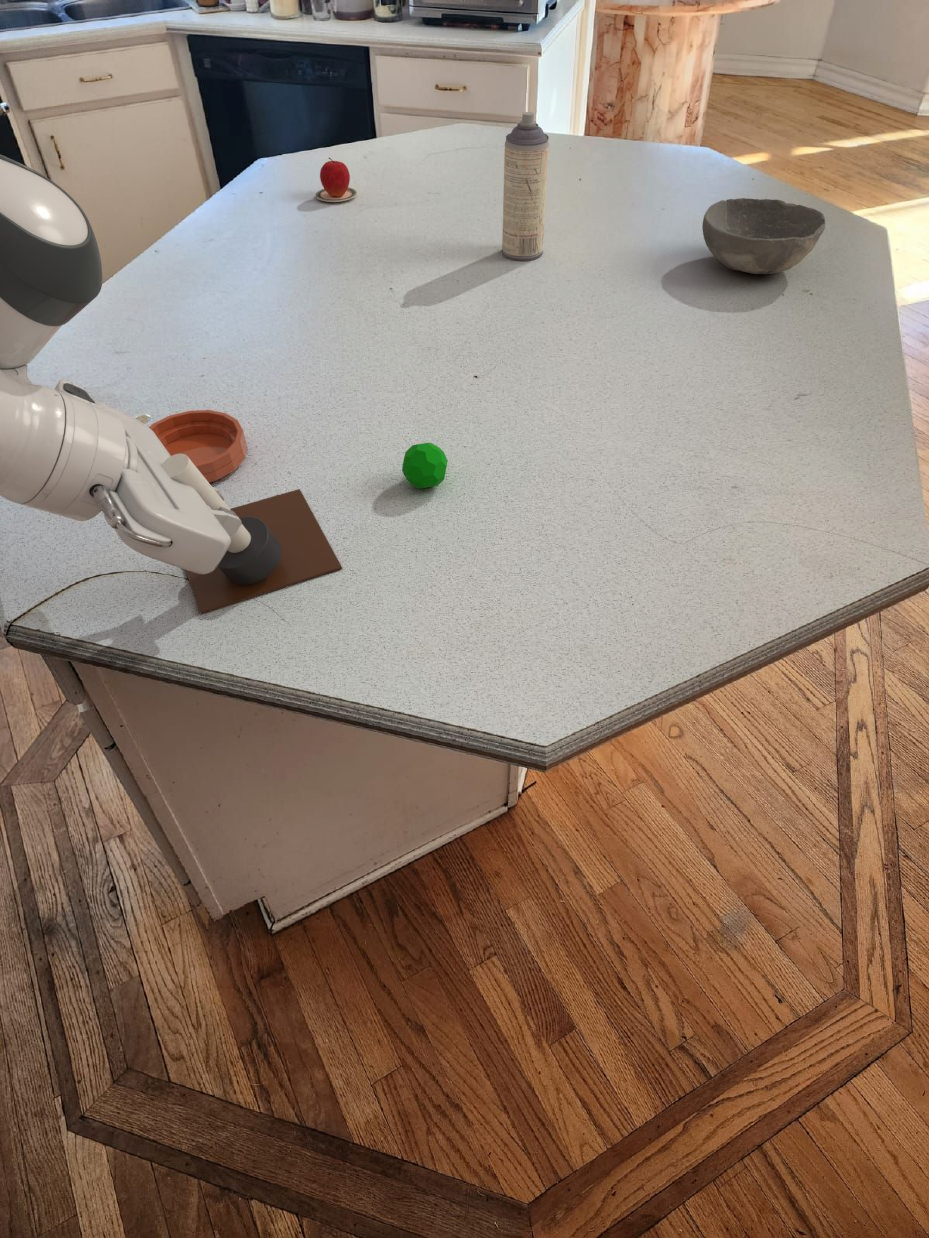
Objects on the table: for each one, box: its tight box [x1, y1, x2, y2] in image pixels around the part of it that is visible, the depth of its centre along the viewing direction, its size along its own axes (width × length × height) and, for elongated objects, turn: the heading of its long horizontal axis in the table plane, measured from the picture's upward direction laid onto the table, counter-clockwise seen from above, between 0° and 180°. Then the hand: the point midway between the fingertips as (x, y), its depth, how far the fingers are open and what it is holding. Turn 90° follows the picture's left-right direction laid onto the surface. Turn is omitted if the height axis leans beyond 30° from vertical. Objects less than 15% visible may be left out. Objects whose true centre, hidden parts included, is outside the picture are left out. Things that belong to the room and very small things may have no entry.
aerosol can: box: [501, 111, 550, 262], centre depth 120 cm, size 7×7×20 cm
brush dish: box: [148, 409, 248, 484], centre depth 87 cm, size 12×12×3 cm
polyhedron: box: [401, 442, 448, 490], centre depth 82 cm, size 5×5×5 cm
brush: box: [161, 454, 281, 585], centre depth 68 cm, size 6×6×14 cm
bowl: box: [701, 197, 826, 275], centre depth 119 cm, size 18×18×8 cm
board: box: [185, 488, 343, 615], centre depth 77 cm, size 14×14×1 cm
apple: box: [315, 157, 358, 203], centre depth 144 cm, size 8×8×6 cm
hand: (226, 512), depth 69 cm, fingers closed on brush, 3 cm apart
